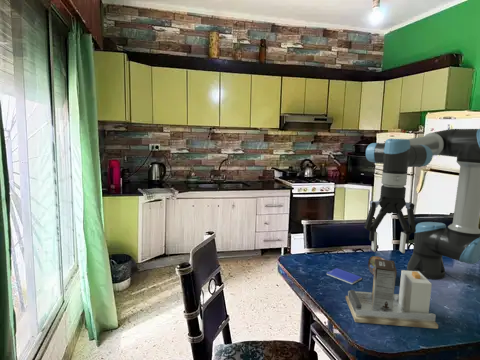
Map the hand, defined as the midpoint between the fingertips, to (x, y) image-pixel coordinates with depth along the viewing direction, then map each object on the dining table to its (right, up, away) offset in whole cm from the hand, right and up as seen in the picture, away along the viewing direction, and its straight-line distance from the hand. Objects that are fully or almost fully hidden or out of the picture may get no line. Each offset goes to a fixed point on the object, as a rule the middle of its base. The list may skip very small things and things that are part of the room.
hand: (387, 250), depth 115 cm
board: (+2, -22, +3) cm, 22 cm away
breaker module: (+9, -21, +2) cm, 23 cm away
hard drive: (-5, -19, +32) cm, 37 cm away
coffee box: (-1, -21, +3) cm, 21 cm away
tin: (+11, -19, +32) cm, 39 cm away
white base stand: (+2, -21, +3) cm, 21 cm away
